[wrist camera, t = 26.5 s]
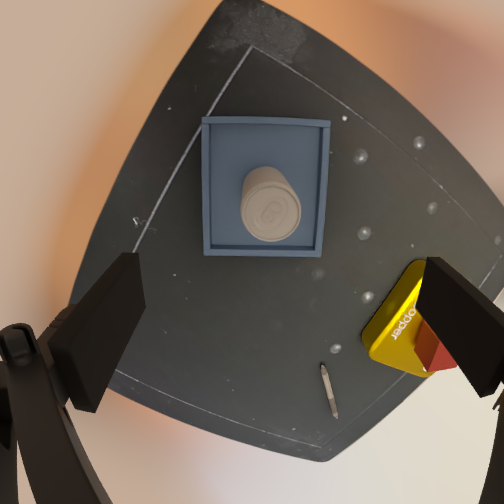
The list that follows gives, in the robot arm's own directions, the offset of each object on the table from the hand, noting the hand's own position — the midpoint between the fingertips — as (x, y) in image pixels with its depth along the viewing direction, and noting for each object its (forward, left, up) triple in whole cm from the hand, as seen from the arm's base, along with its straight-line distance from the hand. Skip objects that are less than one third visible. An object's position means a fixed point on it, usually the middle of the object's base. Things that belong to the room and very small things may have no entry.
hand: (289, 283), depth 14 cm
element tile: (+18, +24, -25) cm, 39 cm away
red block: (+18, +24, -20) cm, 36 cm away
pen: (+32, +12, -25) cm, 42 cm away
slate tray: (0, 0, -24) cm, 24 cm away
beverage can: (0, 0, -24) cm, 24 cm away
